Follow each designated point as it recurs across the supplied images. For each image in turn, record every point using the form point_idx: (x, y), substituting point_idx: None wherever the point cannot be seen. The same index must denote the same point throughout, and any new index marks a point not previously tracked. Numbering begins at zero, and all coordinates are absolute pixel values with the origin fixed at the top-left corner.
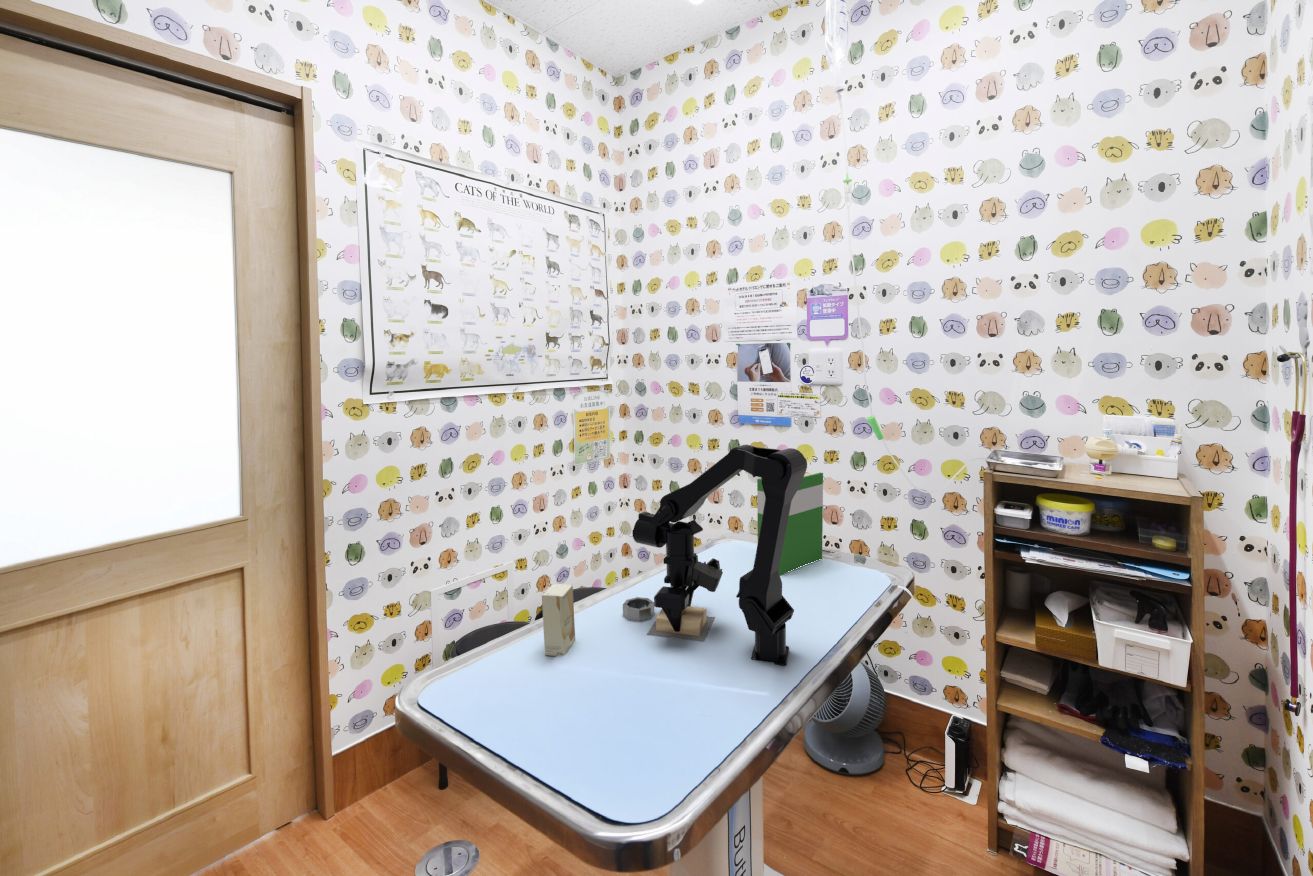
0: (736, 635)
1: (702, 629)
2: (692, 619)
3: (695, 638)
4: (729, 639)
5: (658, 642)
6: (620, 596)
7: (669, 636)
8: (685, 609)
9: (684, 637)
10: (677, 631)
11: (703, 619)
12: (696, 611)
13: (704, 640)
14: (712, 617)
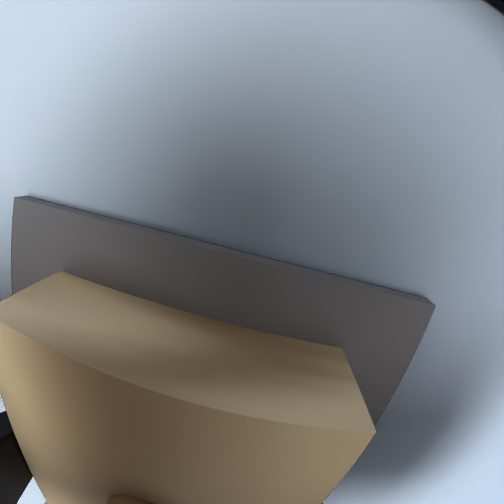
0: (290, 22)
1: (219, 318)
2: (279, 483)
3: (378, 371)
4: (365, 83)
5: (343, 501)
6: None
7: None
8: (73, 479)
9: None
10: None
11: (136, 336)
12: (74, 425)
13: (425, 305)
14: (17, 219)
